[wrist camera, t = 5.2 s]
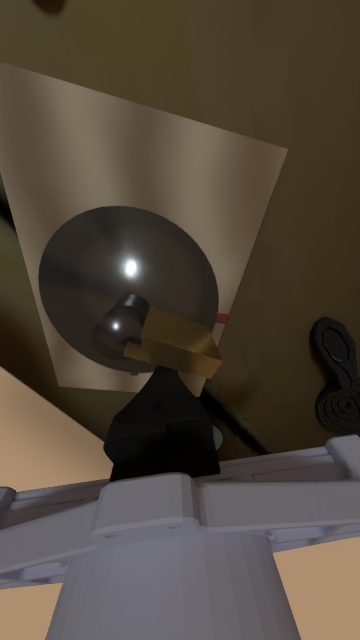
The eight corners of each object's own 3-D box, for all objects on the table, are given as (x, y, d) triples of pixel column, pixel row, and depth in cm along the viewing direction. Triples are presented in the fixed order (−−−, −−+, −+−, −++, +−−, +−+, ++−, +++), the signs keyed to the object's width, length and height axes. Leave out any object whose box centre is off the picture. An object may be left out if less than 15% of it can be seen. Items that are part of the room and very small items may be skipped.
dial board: (67, 375, 18) (57, 388, 16) (1, 83, 8) (-41, 44, 6) (197, 386, 20) (199, 399, 18) (272, 161, 10) (291, 146, 8)
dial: (47, 343, 14) (-14, 393, 9) (52, 164, 8) (-88, 72, 4) (179, 377, 16) (182, 428, 12) (247, 259, 11) (297, 271, 7)
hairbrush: (394, 304, 13) (406, 439, 22) (349, 293, 16) (375, 413, 25) (296, 351, 15) (344, 457, 23) (274, 332, 18) (323, 431, 27)
